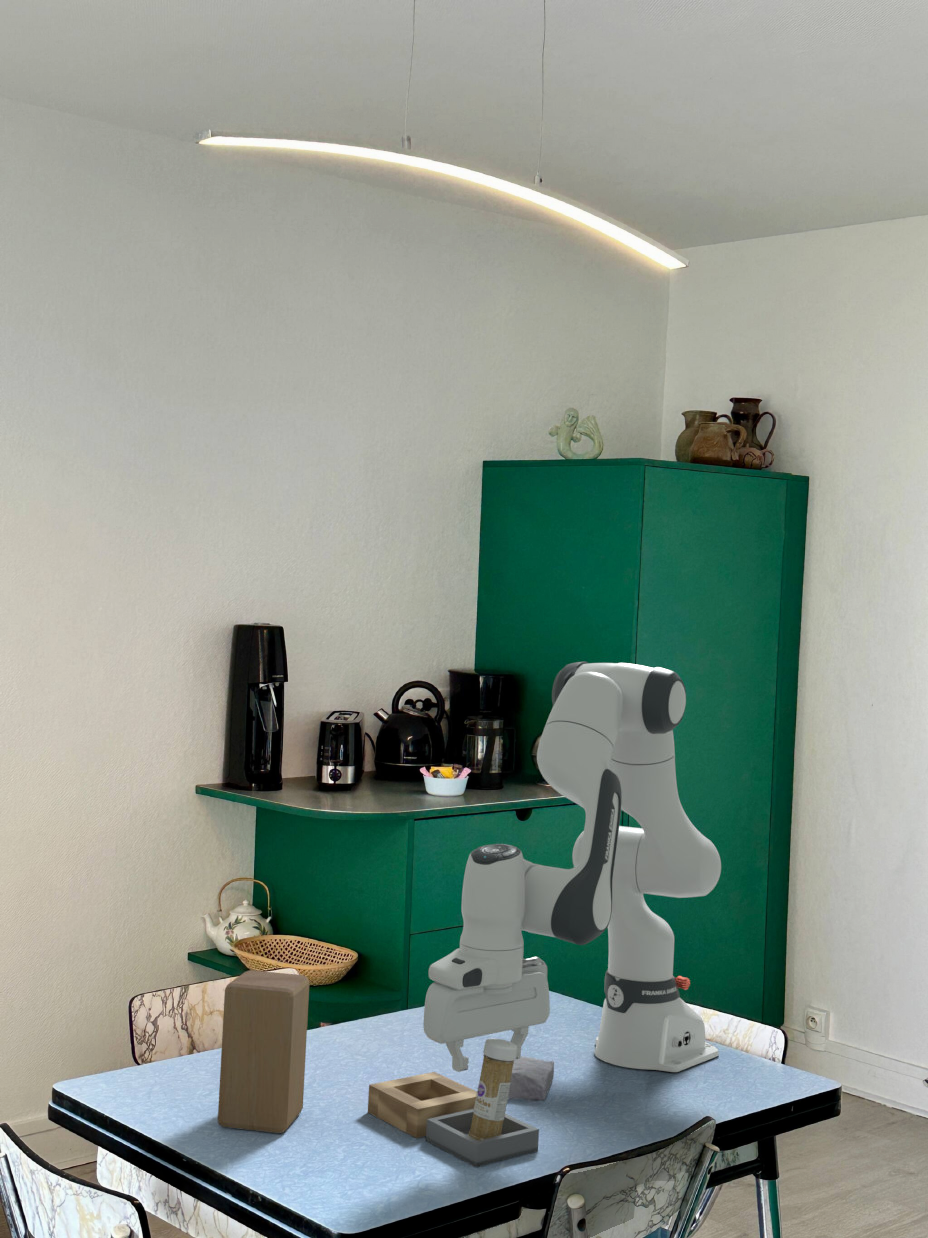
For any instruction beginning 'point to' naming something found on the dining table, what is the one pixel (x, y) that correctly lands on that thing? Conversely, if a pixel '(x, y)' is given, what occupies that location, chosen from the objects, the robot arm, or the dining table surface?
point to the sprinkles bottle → (493, 1089)
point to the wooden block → (263, 1051)
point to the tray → (456, 1140)
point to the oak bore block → (418, 1101)
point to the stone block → (531, 1078)
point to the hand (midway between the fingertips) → (486, 1064)
